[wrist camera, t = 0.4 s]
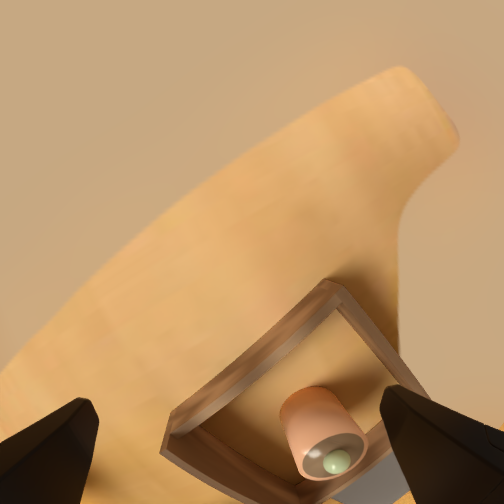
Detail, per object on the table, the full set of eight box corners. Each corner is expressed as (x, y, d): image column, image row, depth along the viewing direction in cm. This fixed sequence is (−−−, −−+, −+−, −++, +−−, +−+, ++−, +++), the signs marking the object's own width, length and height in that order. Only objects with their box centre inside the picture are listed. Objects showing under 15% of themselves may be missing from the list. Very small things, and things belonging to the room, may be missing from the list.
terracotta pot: (303, 441, 23) (330, 500, 14) (267, 414, 22) (286, 478, 14) (347, 406, 23) (388, 457, 15) (314, 375, 23) (353, 429, 14)
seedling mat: (374, 513, 25) (375, 515, 24) (326, 493, 23) (327, 496, 23) (446, 453, 25) (448, 455, 25) (417, 419, 24) (419, 421, 24)
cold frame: (293, 491, 23) (305, 527, 17) (170, 412, 21) (159, 453, 15) (415, 392, 24) (448, 416, 18) (323, 278, 22) (356, 289, 16)
